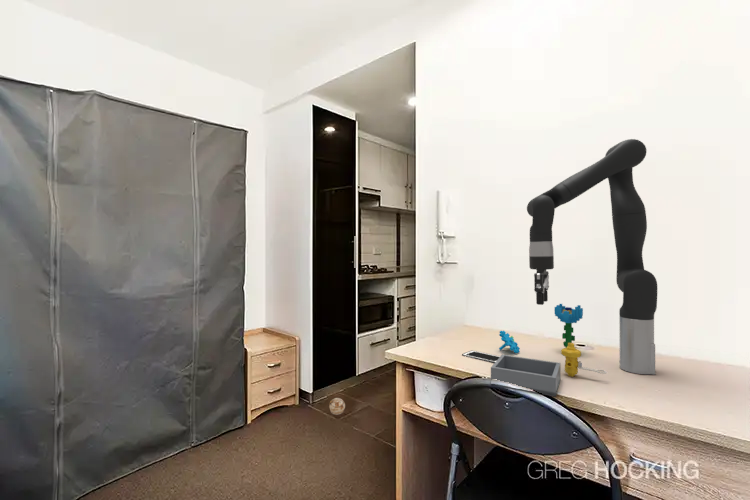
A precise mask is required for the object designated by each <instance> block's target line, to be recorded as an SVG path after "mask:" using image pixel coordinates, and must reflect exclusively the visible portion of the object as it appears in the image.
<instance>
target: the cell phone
mask: <svg viewBox="0 0 750 500" xmlns="http://www.w3.org/2000/svg"><path fill="white" fill-rule="evenodd" d="M461 355H462V356H463V357H465V356H466V357H465V358H470V359H475V360H479V361H482V362H483V361H484V362H487V363H491V364H494V363H495V362H496V361H497V360H498V359H499V358H500V356H501V355H496V354H491V353H487V352H482V351H477V350H469V351H467V352H463V353H462V354H461Z"/></svg>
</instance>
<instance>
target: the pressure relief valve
mask: <svg viewBox="0 0 750 500" xmlns="http://www.w3.org/2000/svg"><path fill="white" fill-rule="evenodd" d="M560 352H561V355H562V356H564V358H565V360H564V361H565V362H564V372H565V373H566V374H567V376H568V377H572V378H573V377H575V375H578V373H579V369H580V370H585V371H590V372H595V373H598V374H602V375H603V374H608V371H606V370H604V369H596V368H590V367H584V366H583V362H582V360H579V361H578V358H580V357H582V351H581V350H580V349H578V348H576V346H575V343H573V342H572V343H568V346H567V348H565V347H564V348H562V349H561V351H560Z"/></svg>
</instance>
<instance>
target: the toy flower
mask: <svg viewBox="0 0 750 500" xmlns="http://www.w3.org/2000/svg"><path fill="white" fill-rule="evenodd" d="M583 314H584V308H583V307H582V306H581V305H579V304H578V305H576V306H574V308H573V307H569V306H566V305H563V303H559V304H557V305H556V306H554V316H555V317H557V319H559V320H560V322H562V323H564V325H563V331H564V332H563V333H562V334H561V336H562V339H563V340H565V341H563V342H562V343H563V345H562V346H563V347H564V348H567V346H568V343H573V342H575V341H576V336H575V335H572V334H573V333H574V327H573V326H572V325H573V324H577V323H578V322H579V321H580V320H581V319H583ZM572 341H573V342H572Z"/></svg>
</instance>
